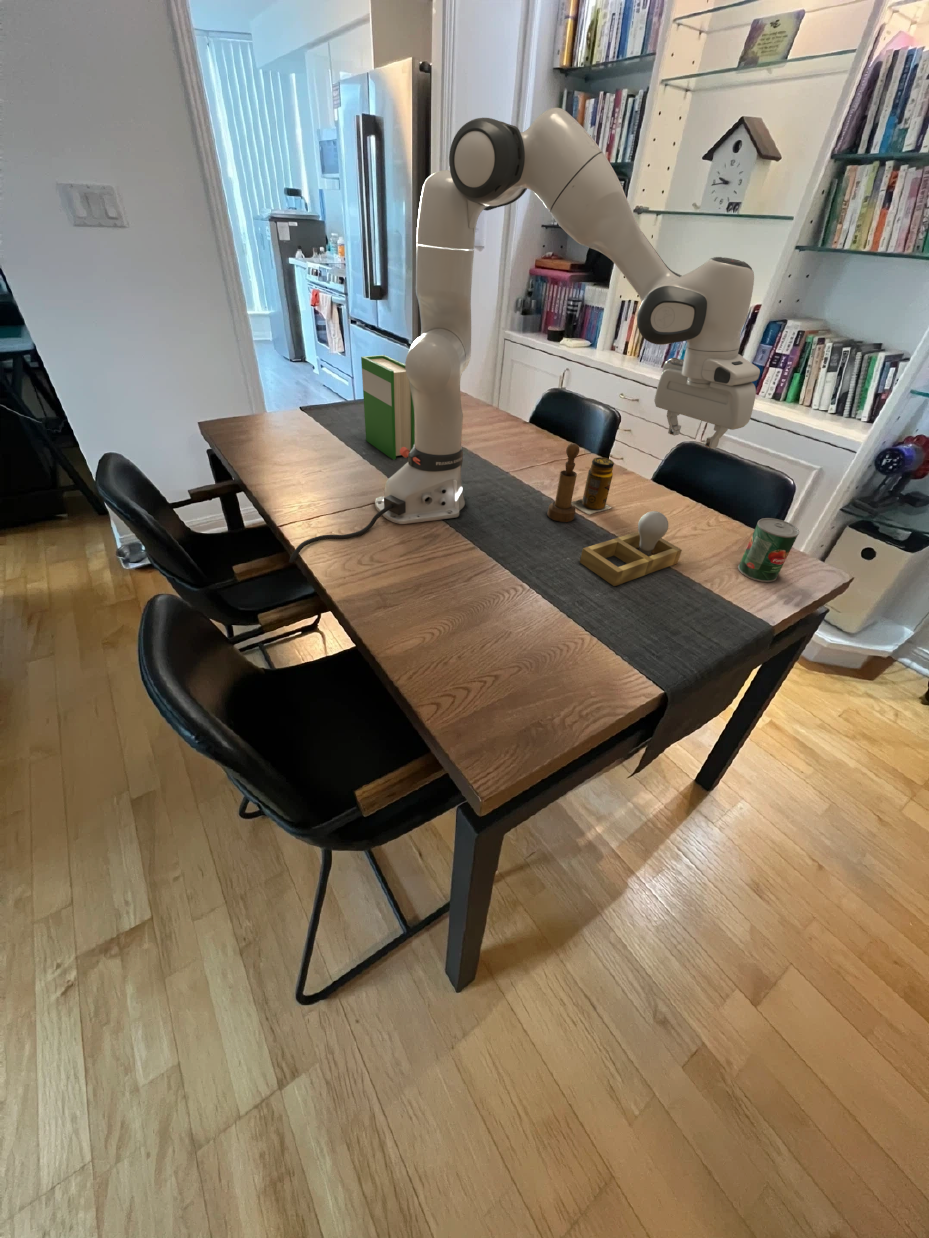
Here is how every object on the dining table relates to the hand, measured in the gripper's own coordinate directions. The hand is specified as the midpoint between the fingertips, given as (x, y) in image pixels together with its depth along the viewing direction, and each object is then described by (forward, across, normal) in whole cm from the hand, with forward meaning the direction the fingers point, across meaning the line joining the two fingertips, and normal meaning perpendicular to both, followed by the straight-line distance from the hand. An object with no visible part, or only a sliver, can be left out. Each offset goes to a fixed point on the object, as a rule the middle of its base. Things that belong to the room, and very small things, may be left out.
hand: (691, 440), depth 105 cm
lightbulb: (+25, 0, -7) cm, 26 cm away
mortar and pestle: (+23, -24, -12) cm, 35 cm away
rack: (+24, 0, -12) cm, 27 cm away
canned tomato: (+27, +15, +12) cm, 33 cm away
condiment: (+24, -26, -1) cm, 35 cm away
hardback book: (+18, -81, -34) cm, 90 cm away
